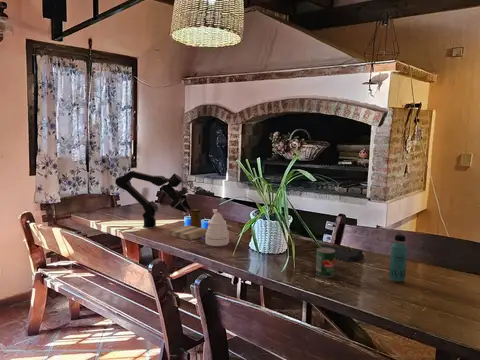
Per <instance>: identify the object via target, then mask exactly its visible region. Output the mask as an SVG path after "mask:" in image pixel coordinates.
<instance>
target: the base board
mask: <svg viewBox="0 0 480 360" xmlns="http://www.w3.org/2000/svg"><path fill="white" fill-rule="evenodd" d="M207 229H208V228H204V227H203V228H202V227H200V228H199V227H194V226H191V225H189V224H188V225H184V226H181V227H177V228H174V229H170V230H169V236H170V237H174V238H178V239H183V240H188V241H192V240H194V239H195V240H196V239H199V238H201V237H204V236H205V237H206V232H207Z"/></svg>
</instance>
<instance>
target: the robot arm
mask: <svg viewBox="0 0 480 360" xmlns="http://www.w3.org/2000/svg"><path fill="white" fill-rule="evenodd" d="M132 179H137V180H140V181H144V182H149V183H151V184H152V185H154V186H157V187H159V193H162V192H163V193H165V194H166V195H167V198H168V199H170V200H171V203H170V207H171V208H172V209H175V210H177V211H180V212H183V213H185V214H186V213H188V211H187V209H188V210H190V211H192V207H191V206H190V204H189V200H188V195H187V194H188V193H189V189H188V188H187V187H185V186H183V187H182V188H181V190H178V189H175V188H177V187H179V186H180V184H181V183H182V182H183V178H182V177H181V176H179V175H178V174H176V173H173V174H172V175H171V176H170V177H169V178H168V177H165V176H164V175H151V174H148V173H144V172H138V171H135V170H130V171H129V172H127V173H126V174H124V175H122V176H119V177H117V178H116V179H115V183H114V184H115V185H116V186H117V187H118V188H120V189H122V190H125V191H126V192H127V193H128V194H129V195H131V197H133V199H134V200H136V201H137V202H138V203H139V205H141V206H142V208H143V211H144V212H143V213H142V217H143V225H142V227H143V228H151V229H152V228H154V227H156V226H157V221H156V217H155V216H156V214H157V213H159V206H158V204H157V203H155V202H154V200H151V201H149V200H148V199H147V198H146V197H145V196H144V195H142V194H141V193H140V191H138V190H137V189H136V188H135V187H134V186H133V185H132V183H131V180H132ZM161 186H162V187H161Z"/></svg>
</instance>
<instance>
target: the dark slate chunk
mask: <svg viewBox="0 0 480 360" xmlns="http://www.w3.org/2000/svg"><path fill="white" fill-rule="evenodd" d="M321 247H326V248H332V249H334V250H335V258H336V259H335V260H337V259H339V260H338V261H341V260H343V261H342V262H344V261H345V262H344V263H355V262H358V261H360V260H362V259H363V258H364V257H365V254H363V250H361V249H358V248H357V249H356V248H353V249H351V247H349V246H345V245H341V246H339V247H338V246H334V245H331V244H330V245H329V244H324V245H322V246H321ZM316 253H317V250H316V251H315V254H316ZM357 260H358V261H357ZM354 261H355V262H354Z"/></svg>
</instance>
